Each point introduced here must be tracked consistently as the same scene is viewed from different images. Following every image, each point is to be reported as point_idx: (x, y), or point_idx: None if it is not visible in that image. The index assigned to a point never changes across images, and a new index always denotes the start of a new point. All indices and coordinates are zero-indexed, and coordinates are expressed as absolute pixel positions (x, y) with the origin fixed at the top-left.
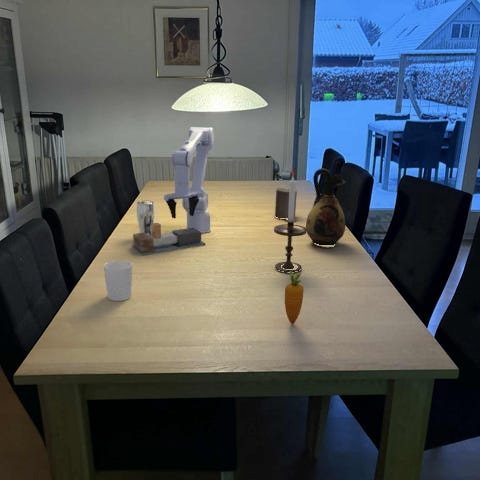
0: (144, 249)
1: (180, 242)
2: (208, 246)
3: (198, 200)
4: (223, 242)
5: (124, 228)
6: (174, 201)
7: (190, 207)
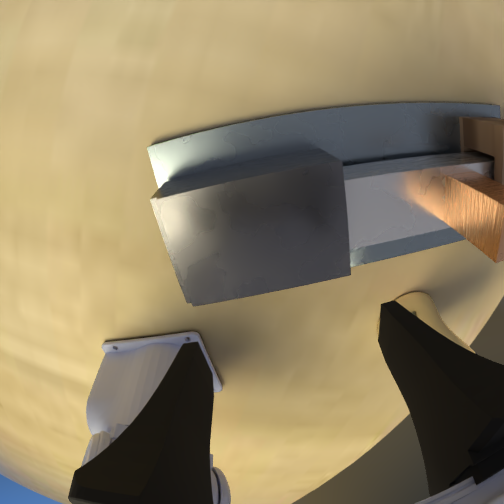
0: (498, 119)
1: (316, 151)
2: (138, 117)
3: (77, 477)
4: (51, 177)
5: (404, 409)
6: (493, 438)
7: (201, 433)
